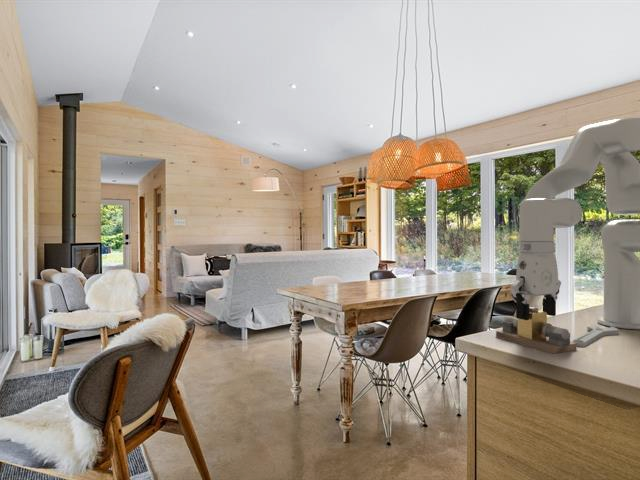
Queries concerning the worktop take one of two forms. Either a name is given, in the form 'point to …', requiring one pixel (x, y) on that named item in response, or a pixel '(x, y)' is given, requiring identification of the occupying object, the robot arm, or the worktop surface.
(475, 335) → the worktop surface
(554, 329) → the shaft stand
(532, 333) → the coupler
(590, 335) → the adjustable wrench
